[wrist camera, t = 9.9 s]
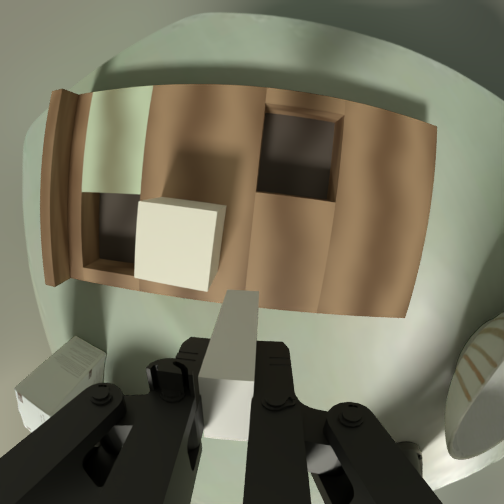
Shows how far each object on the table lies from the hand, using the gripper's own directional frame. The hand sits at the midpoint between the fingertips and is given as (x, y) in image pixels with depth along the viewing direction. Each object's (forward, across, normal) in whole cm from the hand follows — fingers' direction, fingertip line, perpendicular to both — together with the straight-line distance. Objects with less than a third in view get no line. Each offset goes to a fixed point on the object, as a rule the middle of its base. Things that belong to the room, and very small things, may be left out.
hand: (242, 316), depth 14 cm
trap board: (+16, +2, -5) cm, 17 cm away
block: (+12, +6, -2) cm, 14 cm away
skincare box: (+17, +24, +18) cm, 34 cm away
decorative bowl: (+17, -38, +16) cm, 44 cm away
